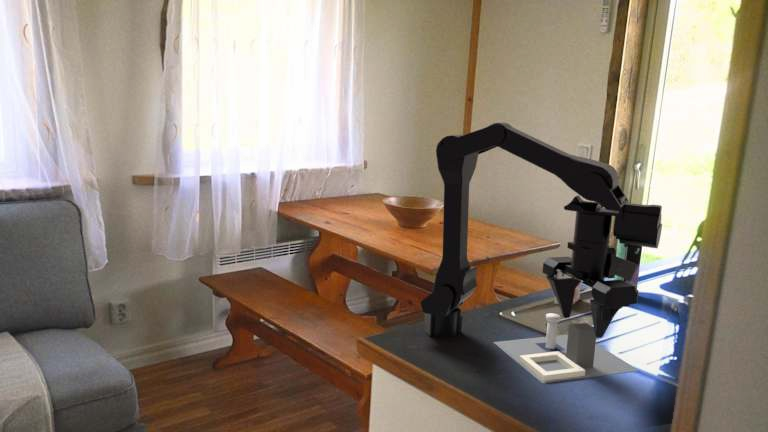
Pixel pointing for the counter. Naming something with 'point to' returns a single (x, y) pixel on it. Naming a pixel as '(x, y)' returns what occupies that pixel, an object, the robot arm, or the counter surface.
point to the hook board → (602, 358)
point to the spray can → (629, 259)
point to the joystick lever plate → (567, 355)
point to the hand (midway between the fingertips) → (582, 327)
